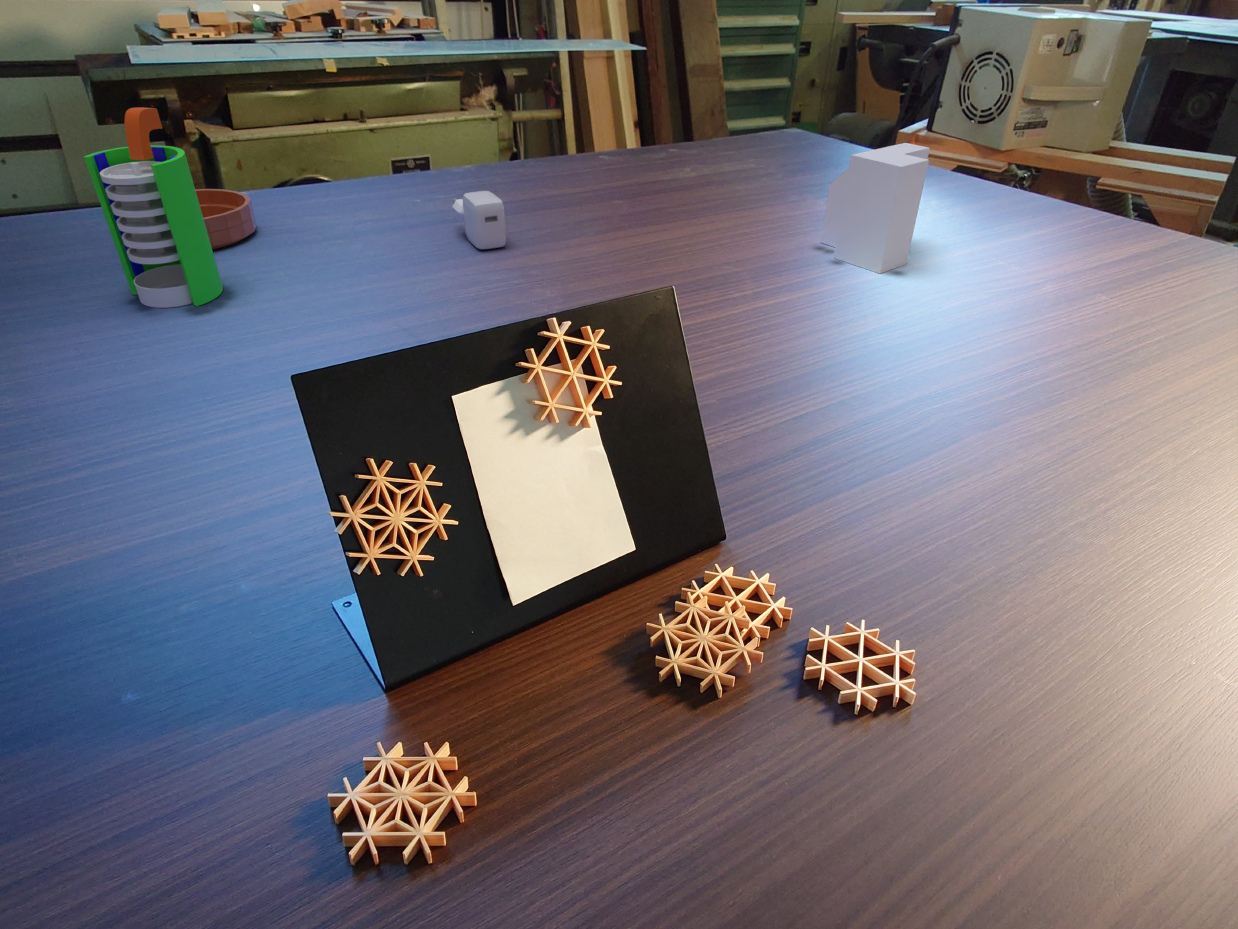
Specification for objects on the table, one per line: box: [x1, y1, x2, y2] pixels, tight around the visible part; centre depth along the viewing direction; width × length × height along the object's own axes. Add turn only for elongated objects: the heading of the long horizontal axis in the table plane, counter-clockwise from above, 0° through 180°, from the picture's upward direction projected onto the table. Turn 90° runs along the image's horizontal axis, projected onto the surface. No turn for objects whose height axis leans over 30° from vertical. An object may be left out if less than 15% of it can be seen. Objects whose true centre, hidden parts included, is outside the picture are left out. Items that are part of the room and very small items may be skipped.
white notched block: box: [820, 142, 931, 274], centre depth 97 cm, size 11×11×12 cm
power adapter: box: [452, 190, 507, 250], centre depth 101 cm, size 11×5×6 cm, turn 26°
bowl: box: [195, 188, 258, 250], centre depth 100 cm, size 14×14×4 cm
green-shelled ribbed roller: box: [83, 107, 224, 309], centre depth 81 cm, size 9×8×18 cm
